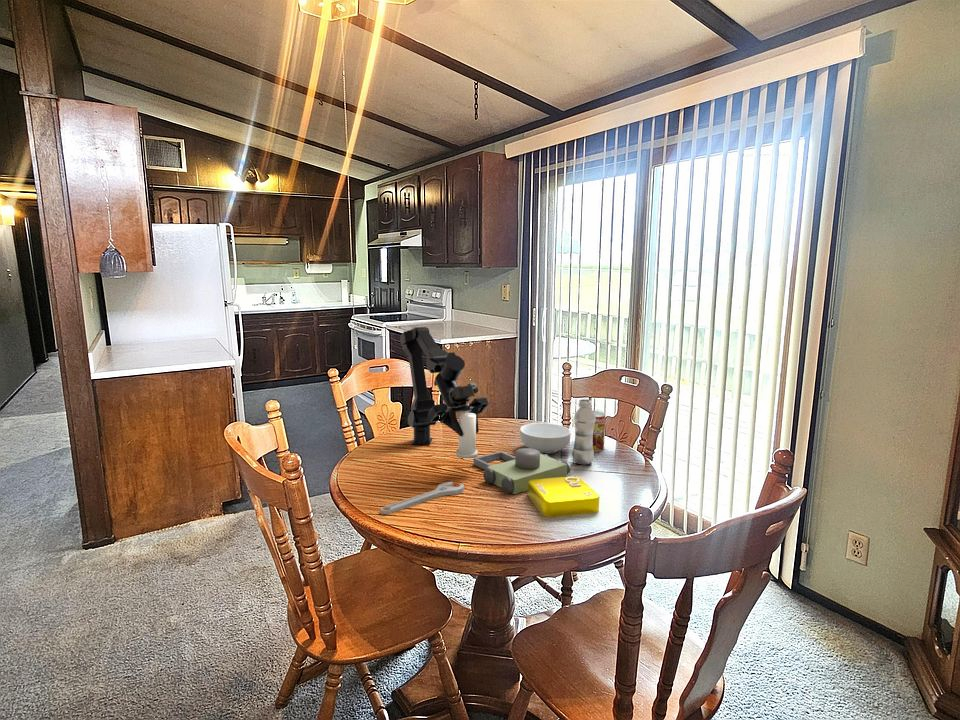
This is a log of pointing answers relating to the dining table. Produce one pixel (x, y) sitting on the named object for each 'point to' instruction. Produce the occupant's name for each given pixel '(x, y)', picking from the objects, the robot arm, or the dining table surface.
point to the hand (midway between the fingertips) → (470, 434)
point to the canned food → (599, 431)
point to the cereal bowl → (545, 437)
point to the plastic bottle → (584, 433)
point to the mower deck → (520, 469)
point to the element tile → (563, 496)
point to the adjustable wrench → (424, 497)
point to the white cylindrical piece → (467, 436)
